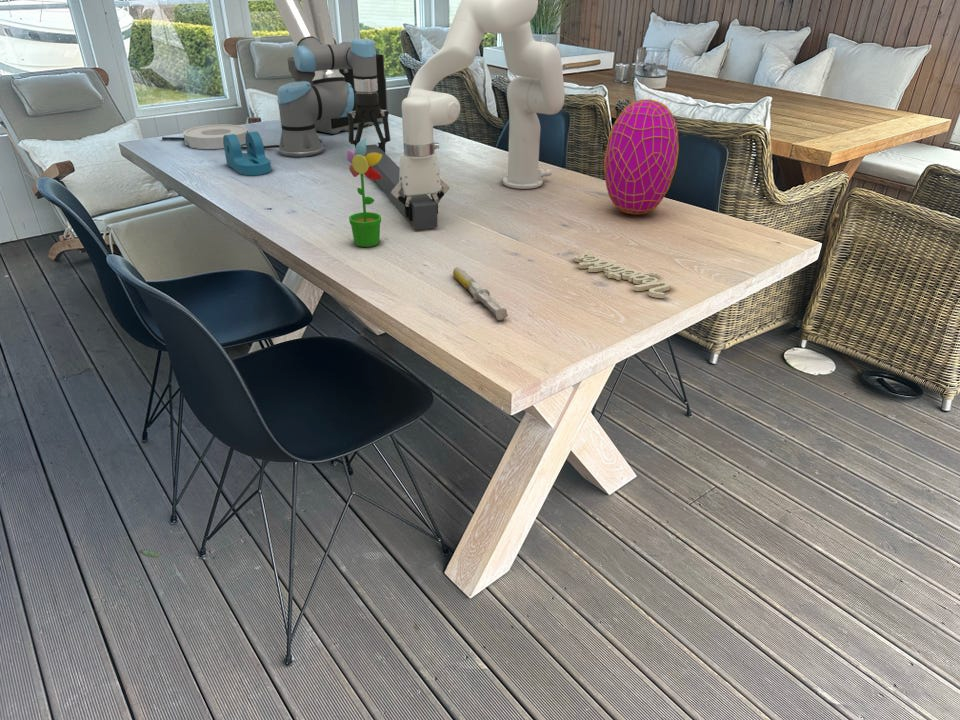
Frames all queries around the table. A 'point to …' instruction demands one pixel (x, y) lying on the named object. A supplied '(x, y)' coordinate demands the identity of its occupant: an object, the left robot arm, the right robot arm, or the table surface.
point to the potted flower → (364, 222)
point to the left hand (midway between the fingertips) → (371, 163)
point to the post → (421, 204)
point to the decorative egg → (641, 156)
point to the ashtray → (213, 135)
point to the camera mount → (246, 154)
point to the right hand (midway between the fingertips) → (421, 217)
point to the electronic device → (343, 123)
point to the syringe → (479, 293)
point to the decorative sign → (625, 274)
